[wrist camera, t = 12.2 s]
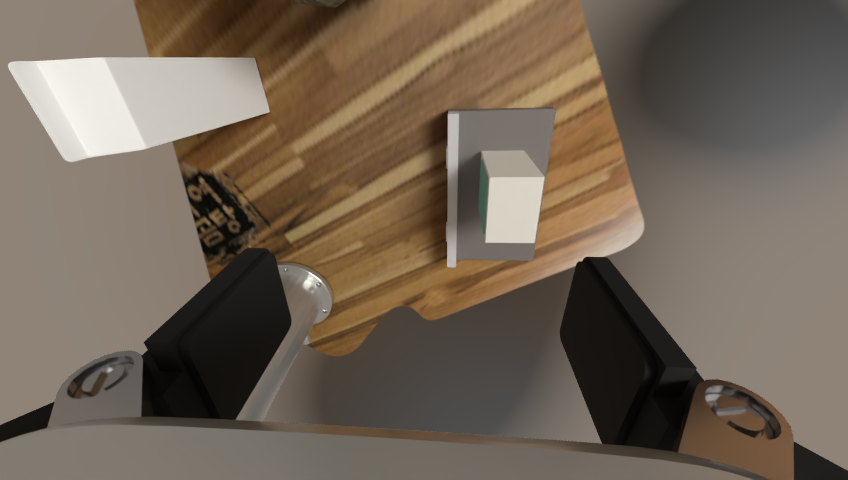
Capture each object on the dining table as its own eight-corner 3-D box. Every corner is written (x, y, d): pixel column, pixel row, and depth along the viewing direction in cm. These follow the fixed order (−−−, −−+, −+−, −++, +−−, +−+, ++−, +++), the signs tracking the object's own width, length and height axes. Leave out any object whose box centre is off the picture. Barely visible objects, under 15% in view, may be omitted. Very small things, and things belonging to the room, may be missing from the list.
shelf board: (530, 255, 47) (535, 268, 44) (446, 253, 48) (445, 267, 45) (552, 107, 38) (561, 111, 35) (446, 109, 39) (446, 114, 36)
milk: (226, 115, 41) (26, 167, 22) (207, 60, 38) (-42, 65, 19) (271, 112, 41) (107, 162, 21) (256, 56, 38) (48, 56, 18)
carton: (517, 204, 42) (534, 243, 34) (476, 204, 43) (483, 242, 34) (524, 150, 39) (544, 177, 30) (479, 150, 39) (487, 177, 31)
